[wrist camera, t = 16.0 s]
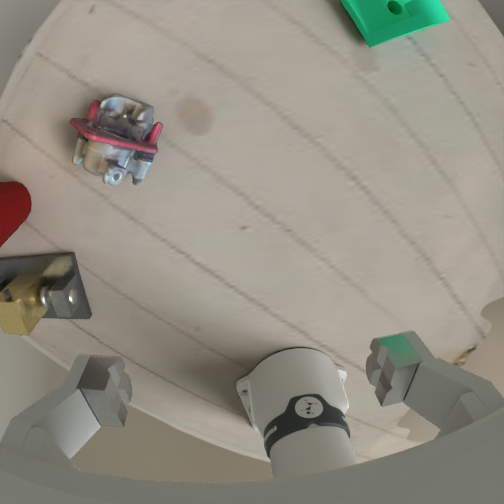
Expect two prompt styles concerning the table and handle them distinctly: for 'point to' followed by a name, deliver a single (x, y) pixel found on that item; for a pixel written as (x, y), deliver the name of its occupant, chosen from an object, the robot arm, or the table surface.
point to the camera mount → (393, 17)
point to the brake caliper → (117, 139)
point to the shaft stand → (52, 283)
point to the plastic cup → (12, 208)
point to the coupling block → (22, 304)
